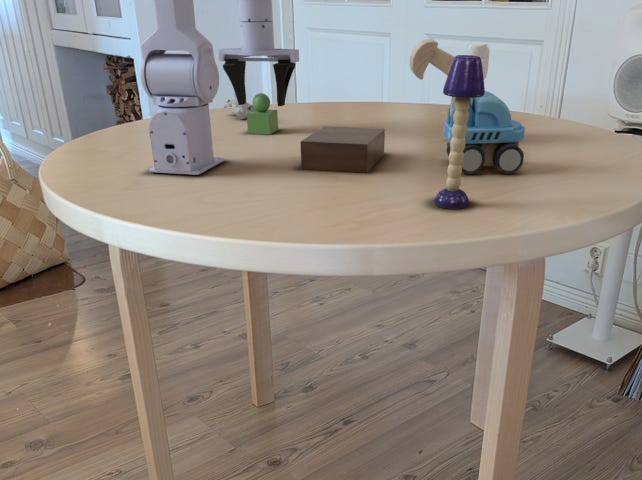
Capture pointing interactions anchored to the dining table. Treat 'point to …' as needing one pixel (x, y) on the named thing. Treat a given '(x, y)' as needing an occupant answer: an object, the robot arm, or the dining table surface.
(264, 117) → the green toy
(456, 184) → the toy lamp
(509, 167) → the toy excavator
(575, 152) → the dining table surface
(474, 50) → the figurine
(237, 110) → the toy cat
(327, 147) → the walnut block
